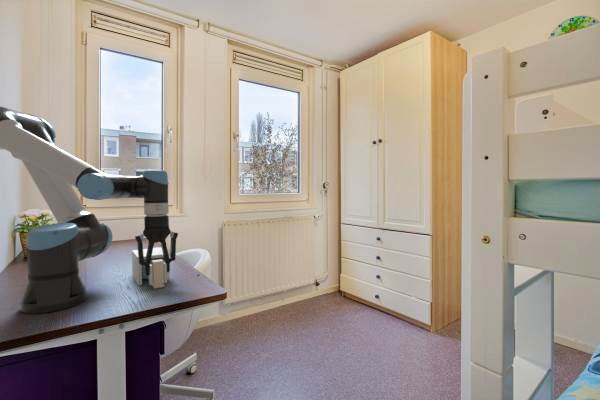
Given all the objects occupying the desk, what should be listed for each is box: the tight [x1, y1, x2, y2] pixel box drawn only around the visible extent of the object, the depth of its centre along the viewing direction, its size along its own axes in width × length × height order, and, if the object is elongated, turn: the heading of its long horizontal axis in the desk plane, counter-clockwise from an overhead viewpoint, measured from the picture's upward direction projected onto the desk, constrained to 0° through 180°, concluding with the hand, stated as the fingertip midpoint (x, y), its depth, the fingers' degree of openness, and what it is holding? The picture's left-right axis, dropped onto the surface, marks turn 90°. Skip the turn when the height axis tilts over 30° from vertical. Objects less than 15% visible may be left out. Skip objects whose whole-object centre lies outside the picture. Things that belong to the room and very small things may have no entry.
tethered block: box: [142, 258, 165, 289], centre depth 108 cm, size 6×20×9 cm, turn 36°
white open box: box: [131, 246, 171, 286], centre depth 113 cm, size 10×15×10 cm
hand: (157, 282), depth 102 cm, fingers open, 4 cm apart
